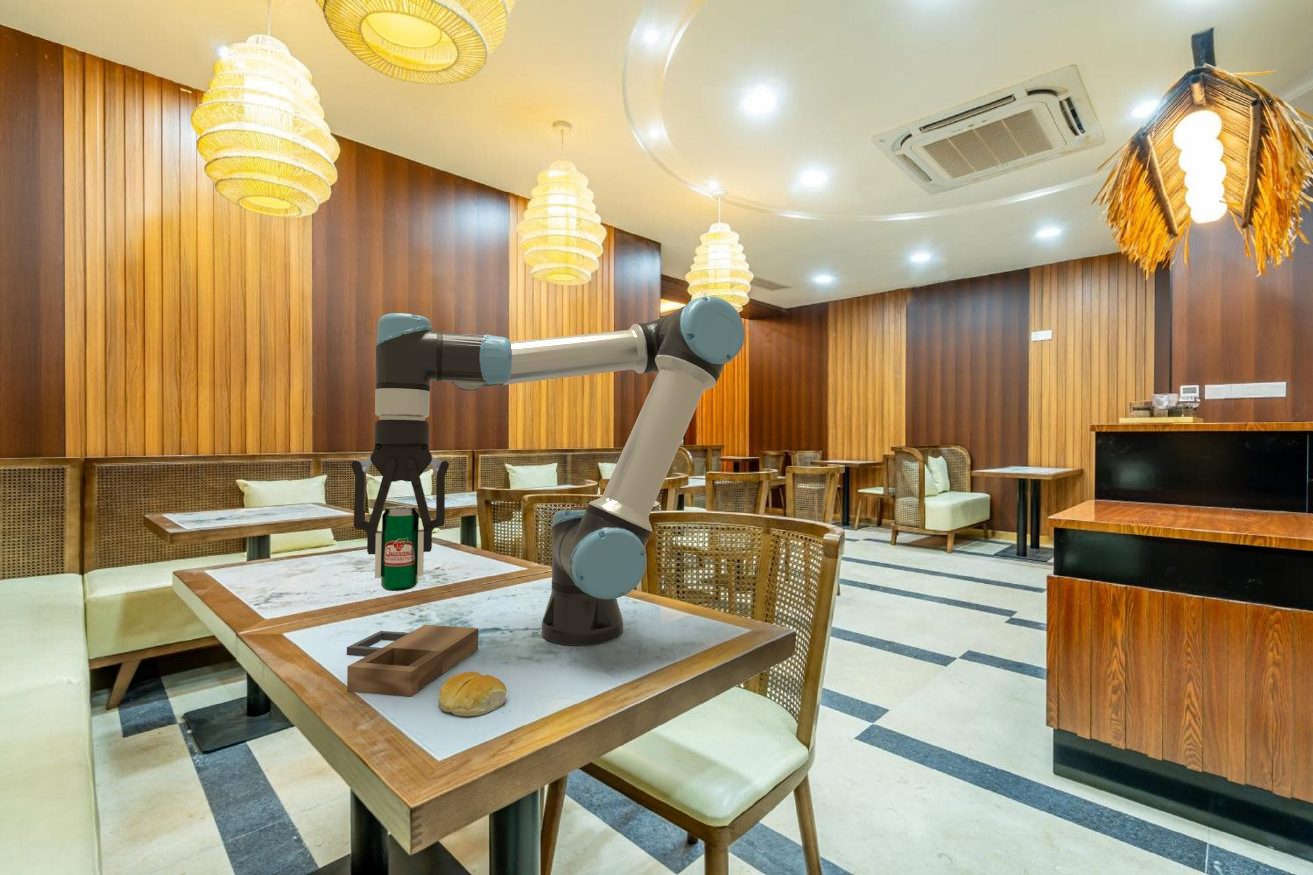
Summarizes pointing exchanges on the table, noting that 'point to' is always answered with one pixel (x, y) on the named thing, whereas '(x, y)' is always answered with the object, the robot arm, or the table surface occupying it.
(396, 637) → the dark square frame
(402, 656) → the caddy
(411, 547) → the soda can
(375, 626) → the table surface
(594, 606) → the robot arm
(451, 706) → the bread roll
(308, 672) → the table surface
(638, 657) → the table surface
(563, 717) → the table surface
